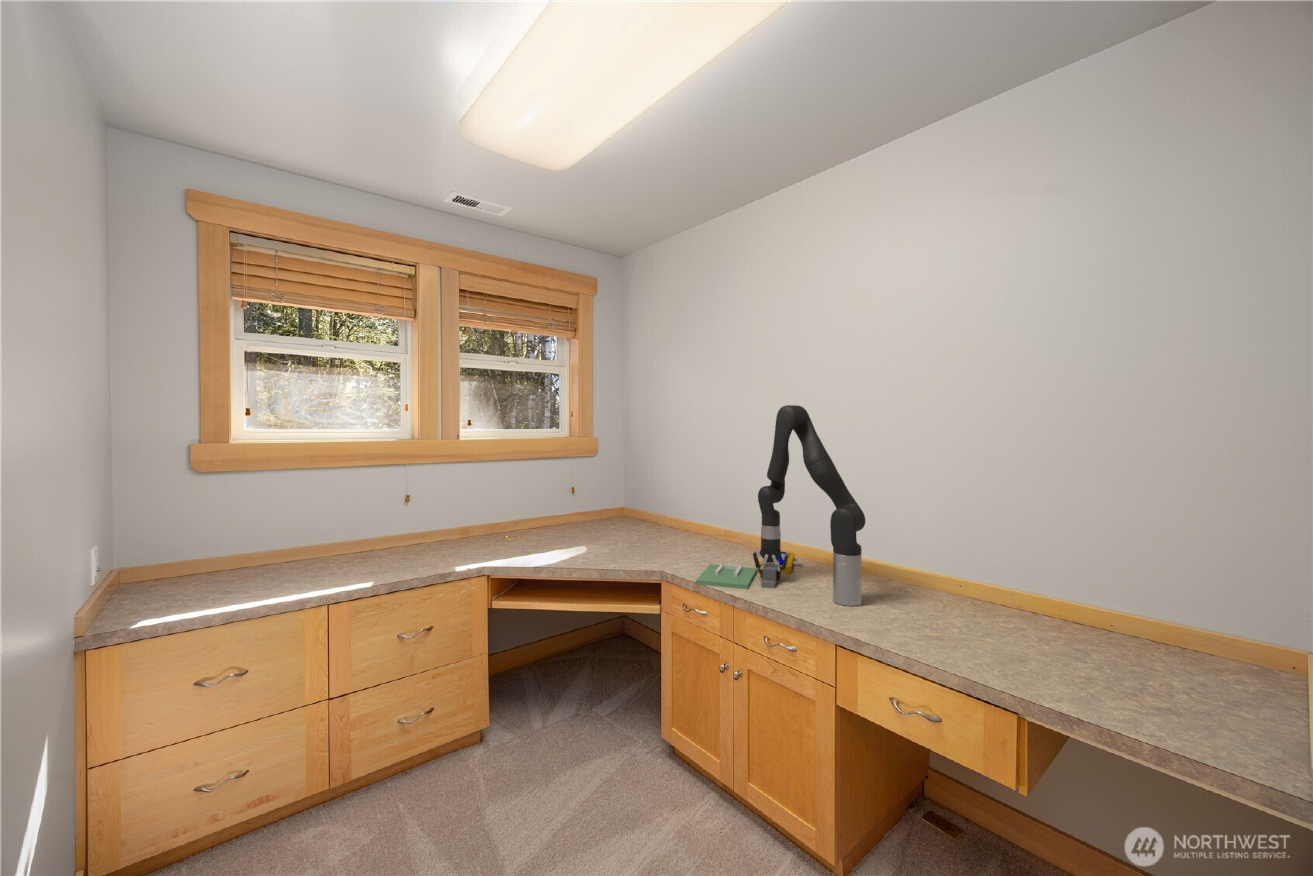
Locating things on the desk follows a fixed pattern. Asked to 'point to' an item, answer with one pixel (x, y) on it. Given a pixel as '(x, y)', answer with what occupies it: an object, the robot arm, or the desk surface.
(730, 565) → the green plate with u-rail
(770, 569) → the grey stepped block
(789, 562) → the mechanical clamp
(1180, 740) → the desk surface
